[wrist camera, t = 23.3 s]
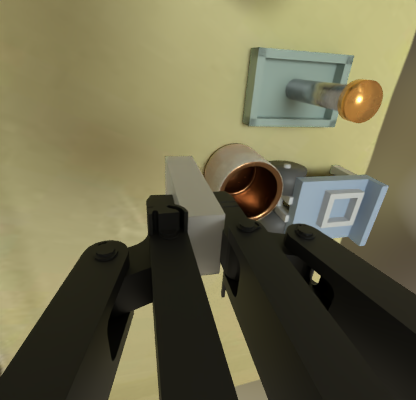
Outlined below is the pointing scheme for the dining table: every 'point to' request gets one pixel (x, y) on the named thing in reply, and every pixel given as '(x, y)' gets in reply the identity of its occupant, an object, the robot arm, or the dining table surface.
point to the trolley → (326, 202)
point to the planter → (245, 179)
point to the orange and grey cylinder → (339, 97)
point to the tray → (277, 81)
